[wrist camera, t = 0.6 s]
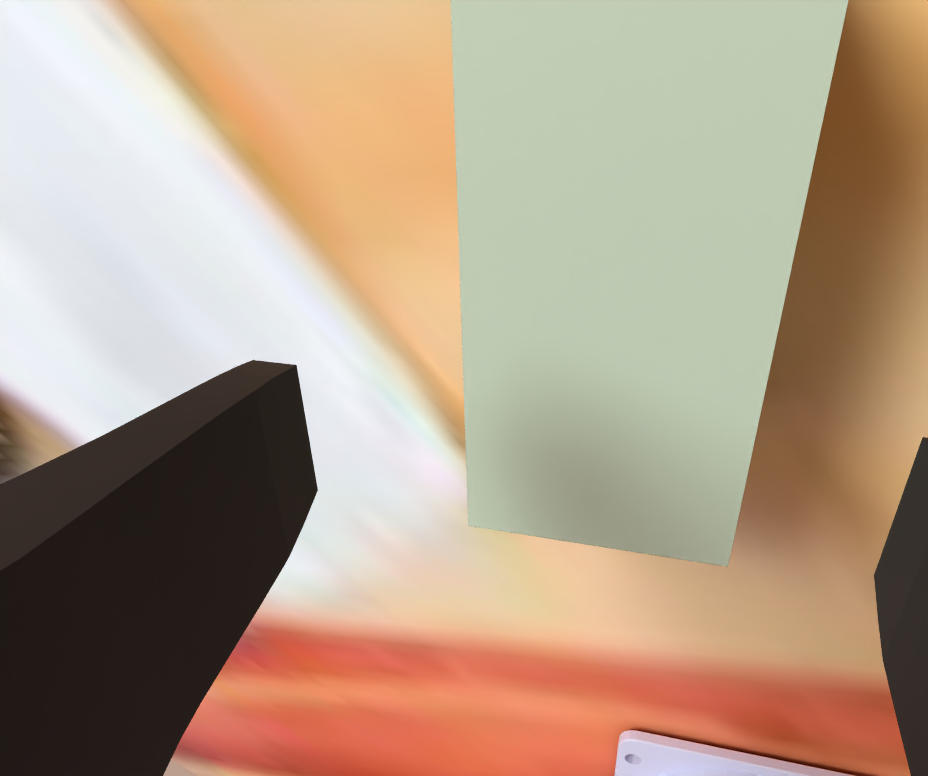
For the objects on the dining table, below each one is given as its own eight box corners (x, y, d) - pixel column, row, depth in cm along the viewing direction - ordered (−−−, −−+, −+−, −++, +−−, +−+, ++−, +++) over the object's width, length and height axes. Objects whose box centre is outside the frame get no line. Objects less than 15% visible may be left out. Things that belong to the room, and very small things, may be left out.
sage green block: (724, 416, 19) (727, 566, 15) (517, 391, 20) (467, 525, 16) (813, -69, 14) (855, -38, 9) (521, -65, 15) (449, -36, 11)
